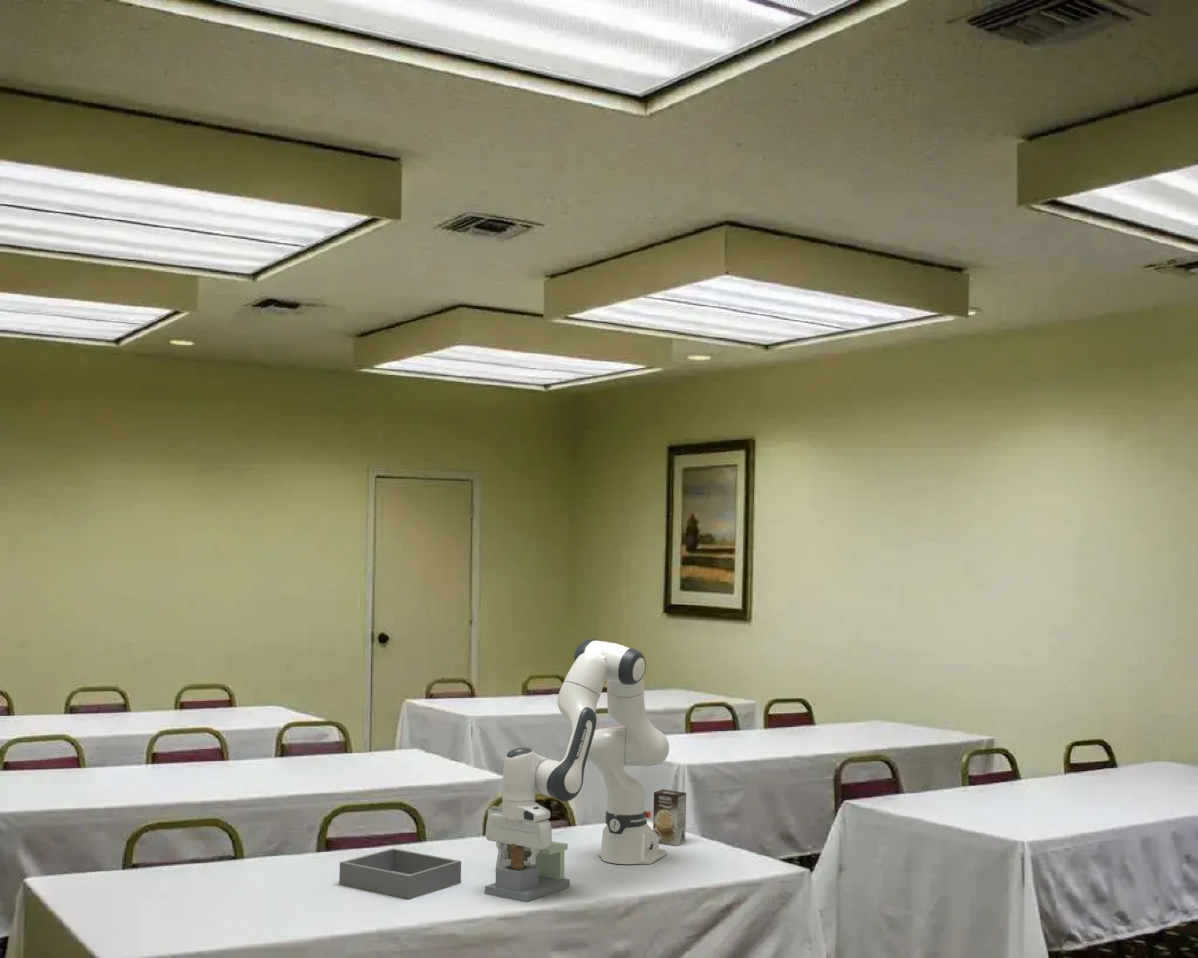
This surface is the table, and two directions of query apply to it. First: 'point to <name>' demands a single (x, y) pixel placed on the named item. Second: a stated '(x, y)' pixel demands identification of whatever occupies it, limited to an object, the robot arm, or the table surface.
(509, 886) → the nook
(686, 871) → the table surface
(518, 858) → the peg
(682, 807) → the coffee box
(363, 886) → the frame
